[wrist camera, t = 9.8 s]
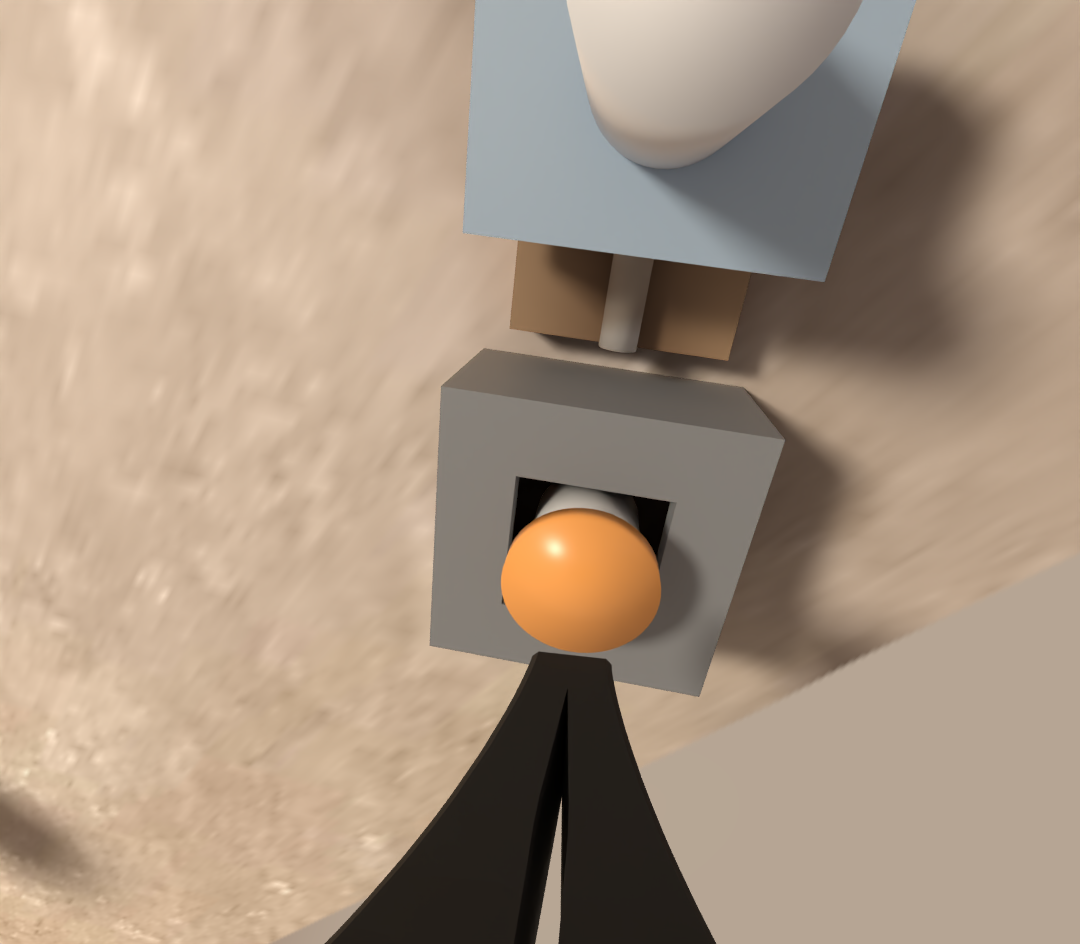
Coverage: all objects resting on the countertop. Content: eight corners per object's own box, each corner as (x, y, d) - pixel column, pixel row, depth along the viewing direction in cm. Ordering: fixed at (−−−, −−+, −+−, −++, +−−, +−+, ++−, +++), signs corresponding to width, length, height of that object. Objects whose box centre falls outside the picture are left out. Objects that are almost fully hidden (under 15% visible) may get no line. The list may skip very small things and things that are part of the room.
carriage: (896, -80, 10) (1345, -579, 4) (791, 273, 12) (956, 314, 6) (512, -115, 10) (362, -608, 4) (487, 232, 13) (371, 234, 7)
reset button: (664, 470, 15) (677, 536, 12) (638, 580, 17) (643, 665, 14) (531, 448, 15) (508, 507, 12) (518, 559, 17) (494, 637, 14)
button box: (743, 387, 16) (785, 440, 12) (679, 608, 20) (695, 706, 16) (483, 348, 17) (440, 386, 13) (466, 570, 20) (429, 655, 16)
